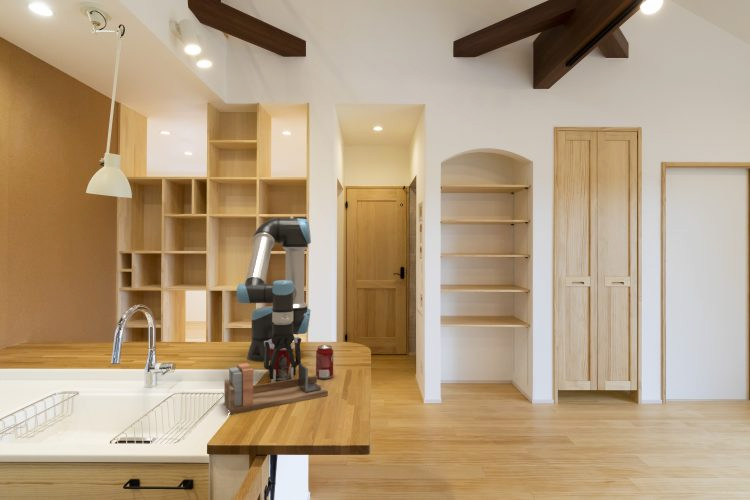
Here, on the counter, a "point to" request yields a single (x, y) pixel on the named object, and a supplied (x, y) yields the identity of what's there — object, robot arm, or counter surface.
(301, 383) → the bookend
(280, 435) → the counter surface
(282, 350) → the plastic cup
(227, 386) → the wooden book rack
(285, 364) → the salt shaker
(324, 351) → the soda can
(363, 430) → the counter surface
